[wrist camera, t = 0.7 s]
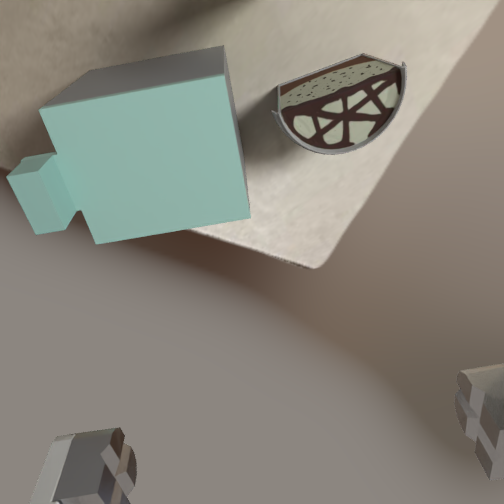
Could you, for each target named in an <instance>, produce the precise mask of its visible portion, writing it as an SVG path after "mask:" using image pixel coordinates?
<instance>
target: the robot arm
mask: <svg viewBox="0 0 504 504" xmlns="http://www.w3.org/2000/svg"><path fill="white" fill-rule="evenodd" d="M456 382H457V384H458V386H459V387H460V390H459V391H458V392H457V393H456V394H455V402H454V405H455V409H456V415H457V418H458V420H459V423H460V425H461V427H462V429H463V431H464V433H465V435H467V436H468V437H470V438H471V439H472V440H474V441H475V442H476V447H475V454H476V456H477V458H478V460H479V461H480V463H481V465H482V467H483V469H484V471H485V473H486V475H487V477H488V478H489V480H496V479H504V364H496V365H490V366H484V367H479V368H473V369H467V370H462V371H459V373H458V374H457V381H456ZM124 437H125V435H124V433H123V432H122V430H121V428H120V427H119V428H112V429H105V430H97V431H90V432H83V433H75V434H69V435H63V436H57V437H56V438H55V440H54V441H53V442H52V444H51V446H50V449H49V452H48V454H47V457H46V460H45V462H44V465H43V468H42V470H41V473H40V476H39V478H38V481H37V484H36V487H35V489H34V492H33V494H32V497H31V500H30V503H29V504H130V502H129V500H128V498H127V496H128V495H129V493H130V492H131V491H132V490H133V488H134V487H135V482H136V476H137V465H136V464H137V463H136V458H135V454H134V451H133V450H132V448H131V446H129V445H127V444H125V443H124Z"/></svg>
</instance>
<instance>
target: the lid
mask: <svg viewBox="0 0 504 504" xmlns="http://www.w3.org/2000/svg"><path fill="white" fill-rule="evenodd" d="M39 112H40V115H41V117H42V119H43V122H44V124H45V126H46V129H47V131H48V133H49V136H50V138H51V140H52V143H53V145H54V147H55V150H56V152H51V153H46V154H40V155H35V156H29V157H24V158H23V159H22V160H21V163H20V164H19V165H18V166H17V167H16V168H15V169H14V170H13V171H12V172H11V173H10V174H9V175H8V176H7V179H8V181H9V183H10V185H11V187H12V189H13V191H14V193H15V195H16V197H17V199H18V201H19V203H20V205H21V207H22V209H23V211H24V213H25V215H26V217H27V219H28V221H29V222H30V224H31V226H32V228H33V230H34V232H35V234H36V235H38V234H44V233H50V232H55V231H62V230H65V229H66V228H67V226H68V224H69V223H70V221H71V219H72V218H73V216H74V215H75V213H76V211H79V210H81V211H82V213H83V215H84V218H85V220H86V222H87V225H88V227H89V229H90V232H91V234H92V236H93V238H94V241H95V243H96V244H102V243H108V242H113V241H120V240H125V239H130V238H137V237H143V236H148V235H154V234H161V233H166V232H172V231H178V230H184V229H190V228H196V227H202V226H208V225H213V224H219V223H225V222H231V221H237V220H243V219H249V218H251V215H250V209H249V204H248V198H247V193H246V188H245V182H244V177H243V171H242V166H241V161H240V155H239V150H238V145H237V139H236V134H235V129H234V123H233V118H232V113H231V107H230V102H229V97H228V91H227V86H226V81H225V75H224V73H222V74H217V75H212V76H206V77H201V78H195V79H190V80H185V81H179V82H174V83H168V84H163V85H158V86H152V87H147V88H141V89H136V90H131V91H125V92H120V93H114V94H109V95H104V96H98V97H93V98H87V99H82V100H77V101H71V102H66V103H60V104H55V105H50V106H44V107H41V108H40V109H39Z"/></svg>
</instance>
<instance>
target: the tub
mask: <svg viewBox="0 0 504 504" xmlns="http://www.w3.org/2000/svg"><path fill="white" fill-rule="evenodd" d="M222 73H224V75H225V81H226V86H227V91H228V97H229V102H230V107H231V113H232V118H233V123H234V129H235V134H236V139H237V145H238V150H239V155H240V161H241V166H242V171H243V177H244V182H245V188H246V193H247V198H248V204H249V197H248V188H247V179H246V170H245V161H244V154H243V148H242V143H241V137H240V132H239V126H238V121H237V115H236V110H235V104H234V98H233V93H232V87H231V82H230V76H229V71H228V65H227V60H226V54H225V49H224V45H223V46H218V47H212V48H207V49H202V50H196V51H191V52H186V53H180V54H175V55H170V56H164V57H159V58H154V59H148V60H143V61H138V62H132V63H127V64H122V65H116V66H111V67H106V68H100V69H95V70H90V71H88V72H87V73H86V74H84V75H83V76H82V77H80V78H79V79H78V80H77V81H75V82H74V83H73V84H71V85H70V86H69V87H67V88H66V89H65V90H64V91H62V92H61V93H60V94H58V95H57V96H56V97H54V98H53V99H52V100H50V101H49V102H48V103H47V104H45V105H44V106H50V105H55V104H60V103H66V102H71V101H77V100H82V99H87V98H93V97H98V96H104V95H109V94H114V93H120V92H125V91H131V90H136V89H141V88H147V87H152V86H158V85H163V84H168V83H174V82H179V81H185V80H190V79H195V78H201V77H206V76H212V75H217V74H222ZM44 106H43V107H44ZM249 209H250V206H249Z"/></svg>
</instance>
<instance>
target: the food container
mask: <svg viewBox="0 0 504 504" xmlns="http://www.w3.org/2000/svg"><path fill="white" fill-rule="evenodd" d="M406 80H407V70H406V65H405V63H404V62H402V66H400V65H397V64H394V63H391V62H388V61H385V60H382V59H379V58H376V57H373V56H370V55H367V54H364V53H362V54H359V55H357V56H354V57H351V58H349V59H346V60H344V61H341V62H338V63H336V64H333V65H330V66H328V67H325V68H322V69H320V70H317V71H314V72H312V73H309V74H306V75H304V76H301V77H298V78H296V79H293V80H290V81H288V82H285V83H282V84H280V85H278V112H277V113H276V112H275V111H273V110H271V112H272V114H273V116H274V119H275V121H276V122H277V124H278V126H279V127H280V129H281V130H282V131H283V132H284V133H285V134H286V136H288V137H289V138H290V139H291V140H292V141H294V142H295V143H296V144H298V145H300V146H302V147H303V148H305V149H307V150H310V151H312V152H315V153H320V154H331V155H335V154H344V153H347V152H351V151H354V150H357V149H359V148H362V147H364V146H365V145H367V144H369V143H370V142H372V141H373V140H375V139H376V138H377V137H378V136H380V135H381V134H382V133H383V132H384V131H385V130H386V129H387V128H388V126H389V125H390V124H391V122H392V121H393V119H394V118H395V116H396V114H397V112H398V111H399V109H400V106H401V103H402V101H403V97H404V93H405V89H406Z"/></svg>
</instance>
